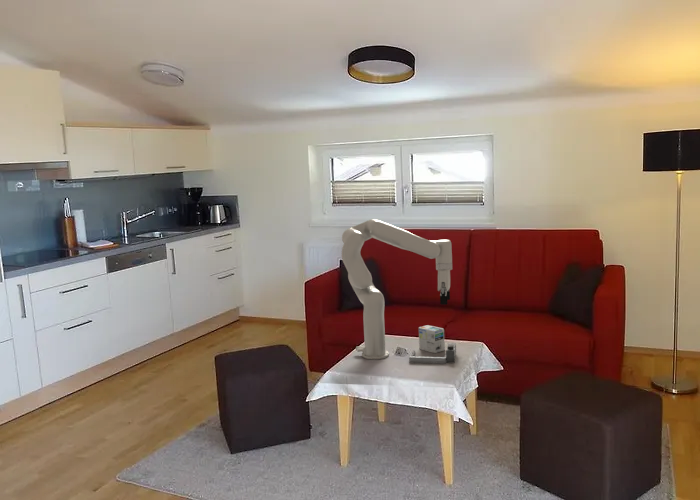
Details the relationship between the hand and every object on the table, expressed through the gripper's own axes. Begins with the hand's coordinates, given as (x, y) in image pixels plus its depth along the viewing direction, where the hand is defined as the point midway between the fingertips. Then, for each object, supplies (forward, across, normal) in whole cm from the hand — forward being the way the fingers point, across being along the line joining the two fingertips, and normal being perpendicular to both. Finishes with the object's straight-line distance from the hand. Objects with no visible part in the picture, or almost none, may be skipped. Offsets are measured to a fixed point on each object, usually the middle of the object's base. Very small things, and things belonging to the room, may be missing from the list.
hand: (445, 302), depth 292 cm
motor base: (+22, +16, -4) cm, 28 cm away
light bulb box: (+22, +4, -6) cm, 24 cm away
